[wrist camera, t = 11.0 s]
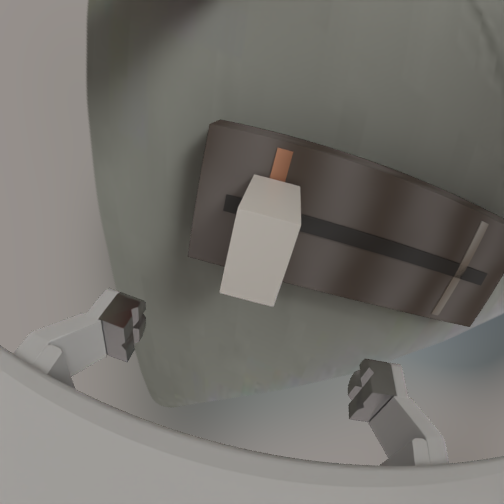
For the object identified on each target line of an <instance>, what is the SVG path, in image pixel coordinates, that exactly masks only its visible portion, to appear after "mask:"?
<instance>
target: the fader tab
mask: <svg viewBox="0 0 504 504" xmlns="http://www.w3.org/2000/svg"><path fill="white" fill-rule="evenodd" d="M300 227H301V197H300V186H297V185H293V184H290V183H286V182H282V181H278V180H275V179H271V178H267V177H263V176H259V175H255V174H254V176H253V178H252V180H251V182H250V184H249V186H248V188H247V190H246V192H245V194H244V196H243V198H242V200H241V202H240V204H239V206H238V209H237V213H236V218H235V222H234V227H233V231H232V236H231V241H230V245H229V250H228V254H227V259H226V264H225V268H224V273H223V278H222V283H221V287H220V292H219V293H222V294H226V295H229V296H233V297H237V298H241V299H244V300H248V301H252V302H256V303H260V304H264V305H268V306H271V307H274V304H275V301H276V298H277V295H278V292H279V290H280V287H281V284H282V281H283V278H284V275H285V272H286V269H287V266H288V263H289V260H290V257H291V254H292V251H293V248H294V245H295V242H296V239H297V236H298V233H299V230H300Z"/></svg>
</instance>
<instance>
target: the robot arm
mask: <svg viewBox="0 0 504 504" xmlns="http://www.w3.org/2000/svg"><path fill="white" fill-rule="evenodd" d="M145 310H146V302H145V301H144V300H141V299H138V298H135V297H133V296H130V295H127V294H125V293H122V292H119V291H116V290H114V289H111V288H108V289H106V290H105V291H104V292H103V293H102V295H101V296H100V297H99V298H98V299H97V300H96V302H95V303H94V304H93V305H92V307H91V308H90V309H89V310H88V311H87V313H86V314H84V313H80V314H78V315H75V316H72V317H70V318H67V319H64V320H62V321H59V322H56V323H54V324H51V325H48V326H46V327H43V328H40V329H38V330H35V331H32V332H31V333H30V334H29V335H28V336H27V337H26V338H25V340H24V341H23V342H22V343H21V345H20V346H19V347H18V348H17V349H16V351H15V352H14V353H11V352H9V351H8V350H6V349H5V348H3V347H2V346H1V345H0V504H504V456H501V457H496V458H490V459H484V460H477V461H470V462H460V463H450V464H449V461H448V455H447V449H446V445H445V439H444V437H443V436H442V434H441V433H440V432H439V431H438V429H437V428H436V427H435V426H434V425H433V423H432V422H431V421H430V420H429V419H428V417H427V416H426V415H425V414H424V412H423V411H422V410H421V409H420V408H419V406H418V405H417V404H416V403H415V402H414V401H413V399H412V398H409V397H408V392H407V387H406V383H405V379H404V374H403V369H402V366H401V365H400V364H394V363H387V362H382V361H376V360H370V359H364V360H363V361H362V362H361V364H360V370H358V371H356V372H354V374H353V375H352V377H351V379H350V381H349V385H348V396H349V397H350V399H351V400H352V401H351V402H350V404H349V419H352V420H358V421H365V422H369V425H370V427H371V428H372V430H373V432H374V434H375V435H376V437H377V439H378V441H379V442H380V444H381V446H382V448H383V449H384V451H385V453H386V455H387V457H388V458H389V459H387V460H386V461H385V462H383V463H382V464H380V465H379V466H370V465H352V464H339V463H328V462H319V461H311V460H303V459H295V458H290V457H283V456H277V455H271V454H266V453H261V452H256V451H252V450H247V449H242V448H238V447H233V446H230V445H225V444H221V443H217V442H214V441H210V440H206V439H203V438H199V437H196V436H193V435H189V434H186V433H183V432H179V431H176V430H173V429H170V428H167V427H164V426H161V425H159V424H156V423H153V422H150V421H147V420H145V419H142V418H139V417H137V416H134V415H132V414H129V413H127V412H124V411H122V410H119V409H117V408H115V407H112V406H110V405H108V404H106V403H103V402H101V401H99V400H97V399H94V398H92V397H90V396H88V395H86V394H84V393H82V392H80V391H78V390H76V389H75V387H74V384H73V382H72V379H71V377H72V376H73V375H75V374H77V373H79V372H80V371H82V370H84V369H85V368H87V367H89V366H91V365H92V364H94V363H96V362H97V361H99V360H101V359H103V358H104V357H106V356H107V355H109V356H111V357H114V358H117V359H119V360H122V361H125V362H128V360H129V359H130V357H131V355H132V353H133V352H134V350H135V348H134V343H137V342H139V341H140V339H141V338H142V336H143V333H144V330H145V326H146V317H145V316H144V314H143V313H144V311H145Z"/></svg>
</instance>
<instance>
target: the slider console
mask: <svg viewBox="0 0 504 504" xmlns="http://www.w3.org/2000/svg"><path fill="white" fill-rule="evenodd" d="M254 174H255V175H259V176H263V177H267V178H271V179H275V180H278V181H282V182H286V183H290V184H293V185H297V186H300V197H301V227H300V230H299V233H298V236H297V239H296V242H295V245H294V248H293V251H292V254H291V257H290V260H289V263H288V266H287V269H286V272H285V275H284V278H283V281H282V282H285V283H289V284H293V285H297V286H301V287H305V288H309V289H313V290H317V291H320V292H324V293H328V294H332V295H336V296H340V297H345V298H349V299H353V300H357V301H361V302H365V303H369V304H373V305H377V306H381V307H386V308H390V309H394V310H398V311H402V312H407V313H411V314H415V315H419V316H424V317H428V318H432V319H437V320H441V321H445V322H450V323H454V324H459V325H463V326H468V327H470V326H471V324H472V323H473V321H474V320H475V318H476V317H477V315H478V314H479V312H480V311H481V309H482V308H483V306H484V305H485V303H486V302H487V300H488V299H489V297H490V295H491V294H492V292H493V291H494V289H495V287H496V286H497V284H498V282H499V281H500V279H501V277H502V275H503V274H504V219H503V218H501V217H499V216H497V215H495V214H493V213H491V212H489V211H487V210H485V209H483V208H481V207H479V206H477V205H475V204H473V203H471V202H469V201H467V200H465V199H463V198H460V197H458V196H456V195H454V194H452V193H450V192H447V191H445V190H443V189H440V188H438V187H436V186H434V185H431V184H429V183H426V182H424V181H422V180H419V179H417V178H414V177H412V176H409V175H407V174H404V173H402V172H399V171H396V170H394V169H391V168H388V167H386V166H383V165H380V164H378V163H375V162H372V161H369V160H366V159H363V158H360V157H357V156H354V155H351V154H348V153H345V152H342V151H339V150H336V149H333V148H330V147H326V146H323V145H320V144H316V143H313V142H310V141H306V140H303V139H299V138H295V137H292V136H288V135H284V134H280V133H277V132H273V131H269V130H265V129H261V128H256V127H252V126H248V125H243V124H239V123H234V122H230V121H225V120H218V121H216V122H213V123H211V124H210V125H209V130H208V136H207V141H206V146H205V151H204V157H203V162H202V168H201V174H200V179H199V185H198V191H197V197H196V204H195V210H194V216H193V223H192V230H191V237H190V244H189V251H188V257H191V258H195V259H199V260H202V261H206V262H210V263H213V264H217V265H221V266H224V267H225V264H226V259H227V254H228V250H229V245H230V241H231V236H232V231H233V227H234V222H235V218H236V213H237V209H238V206H239V204H240V202H241V200H242V198H243V196H244V194H245V192H246V190H247V188H248V186H249V184H250V182H251V180H252V178H253V176H254Z"/></svg>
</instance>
